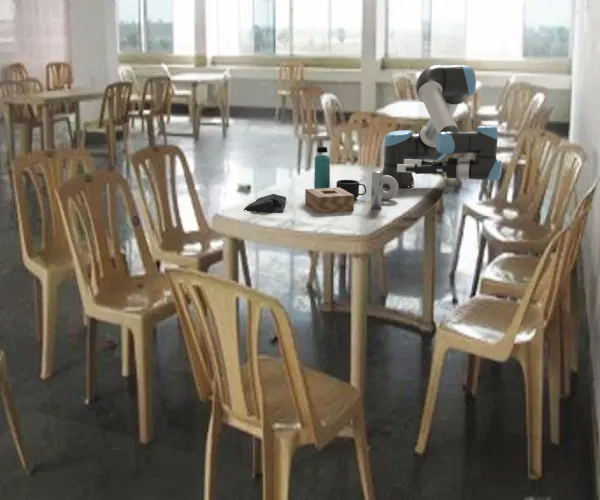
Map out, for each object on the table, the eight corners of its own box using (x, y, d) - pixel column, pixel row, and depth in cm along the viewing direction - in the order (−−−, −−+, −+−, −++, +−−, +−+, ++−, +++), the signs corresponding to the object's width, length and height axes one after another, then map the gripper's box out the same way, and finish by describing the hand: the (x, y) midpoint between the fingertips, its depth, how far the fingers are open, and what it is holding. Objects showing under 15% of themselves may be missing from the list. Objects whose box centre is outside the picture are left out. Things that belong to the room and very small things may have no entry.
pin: (379, 206, 324) (380, 170, 320) (383, 209, 320) (384, 172, 316) (369, 207, 323) (370, 171, 319) (373, 209, 319) (374, 173, 315)
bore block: (339, 202, 331) (339, 187, 330) (353, 210, 317) (354, 195, 315) (305, 204, 327) (305, 189, 326) (318, 213, 312) (318, 197, 311)
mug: (334, 200, 335) (334, 183, 333) (338, 196, 343) (338, 179, 341) (364, 202, 333) (365, 184, 331) (367, 197, 341) (367, 180, 339)
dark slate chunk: (292, 202, 332) (292, 191, 331) (281, 215, 311) (281, 202, 310) (254, 201, 335) (254, 189, 334) (241, 213, 314) (241, 200, 313)
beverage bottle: (328, 197, 341) (329, 148, 336) (312, 196, 342) (312, 147, 337) (331, 194, 347) (332, 145, 342) (315, 193, 348) (315, 145, 343)
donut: (372, 199, 337) (373, 174, 335) (375, 197, 341) (376, 173, 338) (396, 201, 334) (397, 176, 331) (399, 200, 337) (400, 175, 334)
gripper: (453, 184, 297) (393, 180, 303) (461, 173, 320) (406, 170, 327) (454, 162, 295) (394, 159, 302) (462, 153, 319) (407, 151, 325)
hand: (400, 165), depth 314 cm, fingers open, 13 cm apart
